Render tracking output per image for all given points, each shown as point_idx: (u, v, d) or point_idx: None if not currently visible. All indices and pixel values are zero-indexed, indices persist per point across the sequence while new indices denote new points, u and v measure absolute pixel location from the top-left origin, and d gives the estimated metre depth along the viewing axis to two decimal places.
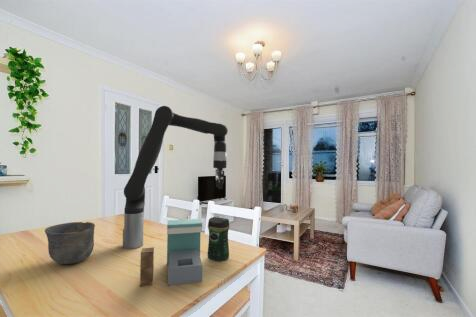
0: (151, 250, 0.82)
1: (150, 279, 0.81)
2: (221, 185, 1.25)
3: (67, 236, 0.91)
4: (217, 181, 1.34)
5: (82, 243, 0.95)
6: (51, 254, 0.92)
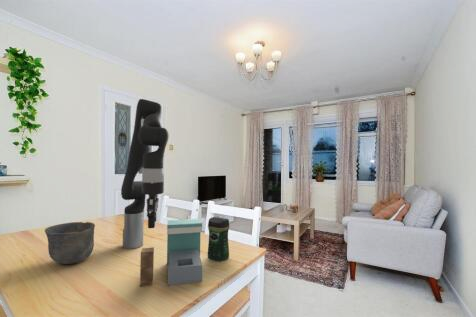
0: (151, 250, 0.82)
1: (150, 279, 0.81)
2: (151, 222, 0.79)
3: (67, 236, 0.91)
4: (152, 212, 0.88)
5: (82, 243, 0.95)
6: (51, 254, 0.92)
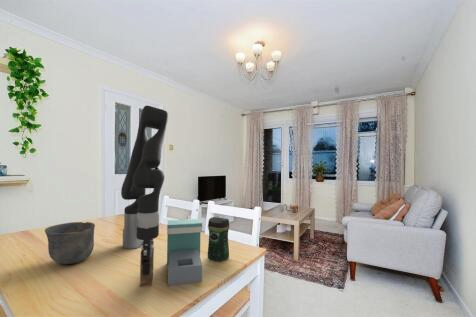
0: None
1: (150, 279, 0.81)
2: (146, 269, 0.80)
3: (67, 236, 0.91)
4: None
5: (82, 243, 0.95)
6: (51, 254, 0.92)
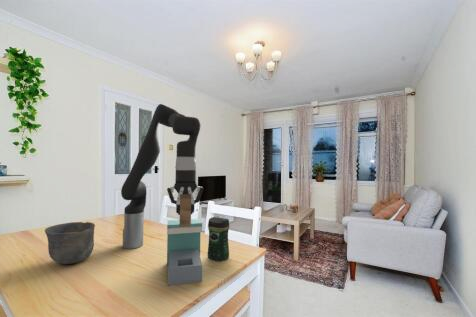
0: (183, 194, 0.85)
1: None
2: (176, 208, 0.86)
3: (67, 236, 0.91)
4: None
5: (82, 243, 0.95)
6: (51, 254, 0.92)
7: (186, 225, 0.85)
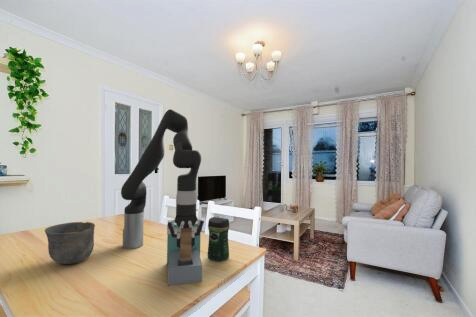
0: (183, 228, 0.85)
1: (180, 254, 0.85)
2: None
3: (67, 236, 0.91)
4: None
5: (82, 243, 0.95)
6: (51, 254, 0.92)
7: (186, 259, 0.85)
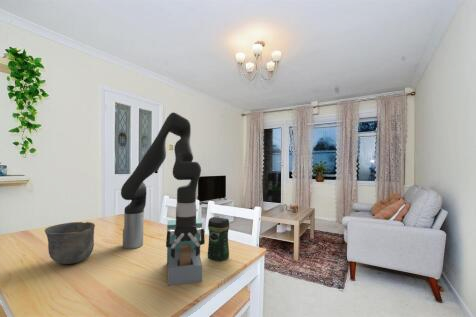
0: (183, 248, 0.85)
1: None
2: (171, 252, 0.85)
3: (67, 236, 0.91)
4: (196, 245, 0.88)
5: (82, 243, 0.95)
6: (51, 254, 0.92)
7: None
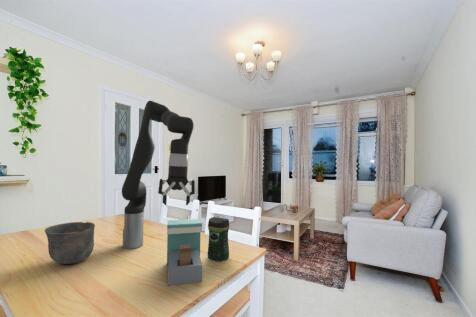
0: (183, 248, 0.85)
1: None
2: None
3: (67, 236, 0.91)
4: (186, 196, 0.94)
5: (82, 243, 0.95)
6: (51, 254, 0.92)
7: None
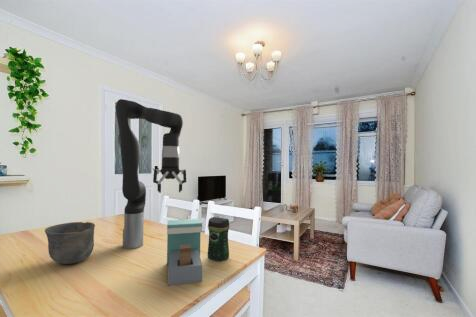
0: (183, 248, 0.85)
1: None
2: None
3: (67, 236, 0.91)
4: (179, 184, 1.05)
5: (82, 243, 0.95)
6: (51, 254, 0.92)
7: None
